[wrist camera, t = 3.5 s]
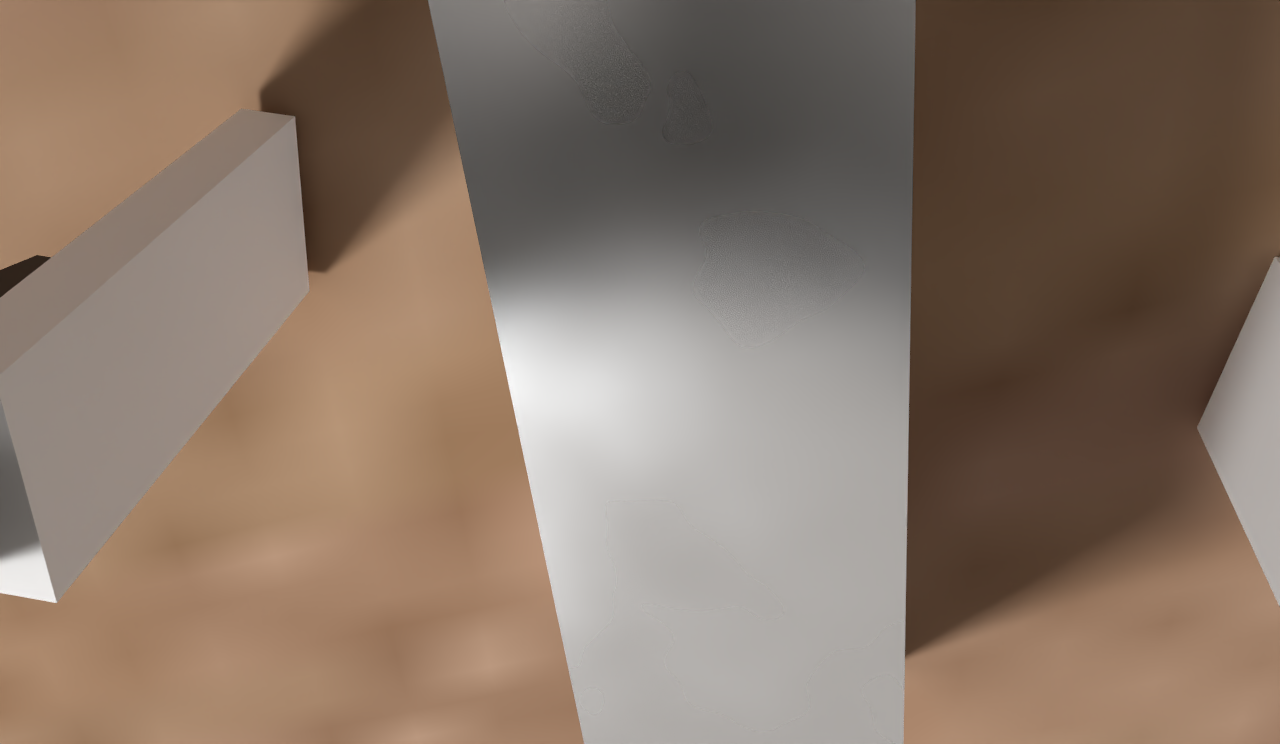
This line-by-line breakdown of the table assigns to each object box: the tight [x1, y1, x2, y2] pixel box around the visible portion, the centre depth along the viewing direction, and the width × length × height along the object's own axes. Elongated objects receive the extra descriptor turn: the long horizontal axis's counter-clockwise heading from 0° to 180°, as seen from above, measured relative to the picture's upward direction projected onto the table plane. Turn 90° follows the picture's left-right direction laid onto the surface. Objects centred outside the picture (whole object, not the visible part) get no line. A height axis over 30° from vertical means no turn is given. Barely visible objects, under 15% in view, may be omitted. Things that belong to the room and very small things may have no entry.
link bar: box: [428, 0, 916, 744], centre depth 13 cm, size 16×4×6 cm, turn 7°
